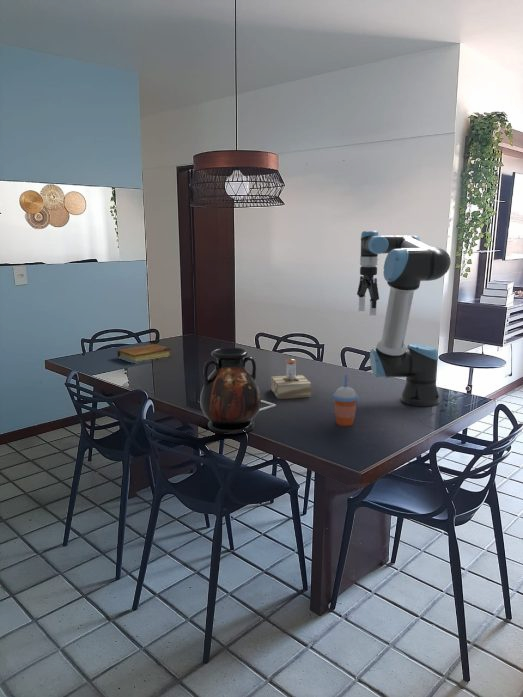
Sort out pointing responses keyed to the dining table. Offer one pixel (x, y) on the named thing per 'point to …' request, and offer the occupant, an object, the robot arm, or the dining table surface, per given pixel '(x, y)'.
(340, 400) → the cup with straw
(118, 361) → the dining table surface
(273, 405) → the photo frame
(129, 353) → the diary
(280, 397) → the socket block
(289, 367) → the peg
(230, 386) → the amphora vase
